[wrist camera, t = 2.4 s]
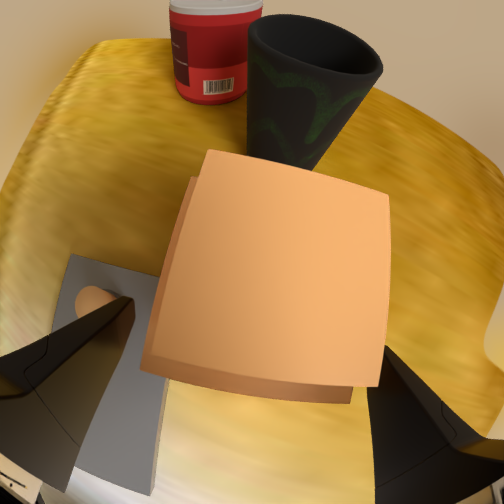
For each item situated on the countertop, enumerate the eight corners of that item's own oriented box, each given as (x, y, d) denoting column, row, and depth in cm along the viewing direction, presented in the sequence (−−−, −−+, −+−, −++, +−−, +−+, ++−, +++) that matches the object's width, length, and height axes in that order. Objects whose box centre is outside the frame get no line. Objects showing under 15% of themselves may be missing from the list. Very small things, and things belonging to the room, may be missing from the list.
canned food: (263, 82, 25) (280, -3, 15) (217, 118, 23) (221, 15, 13) (210, 60, 26) (213, -17, 16) (161, 92, 24) (149, 3, 13)
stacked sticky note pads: (284, 371, 17) (401, 424, 5) (183, 352, 17) (98, 383, 4) (299, 276, 19) (412, 176, 7) (205, 256, 19) (183, 116, 7)
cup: (268, 116, 24) (293, 7, 12) (336, 159, 23) (396, 57, 12) (215, 163, 21) (216, 32, 10) (292, 217, 21) (358, 98, 9)
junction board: (154, 487, 13) (140, 517, 9) (53, 443, 12) (23, 458, 8) (188, 287, 18) (178, 272, 14) (80, 259, 18) (50, 238, 13)
